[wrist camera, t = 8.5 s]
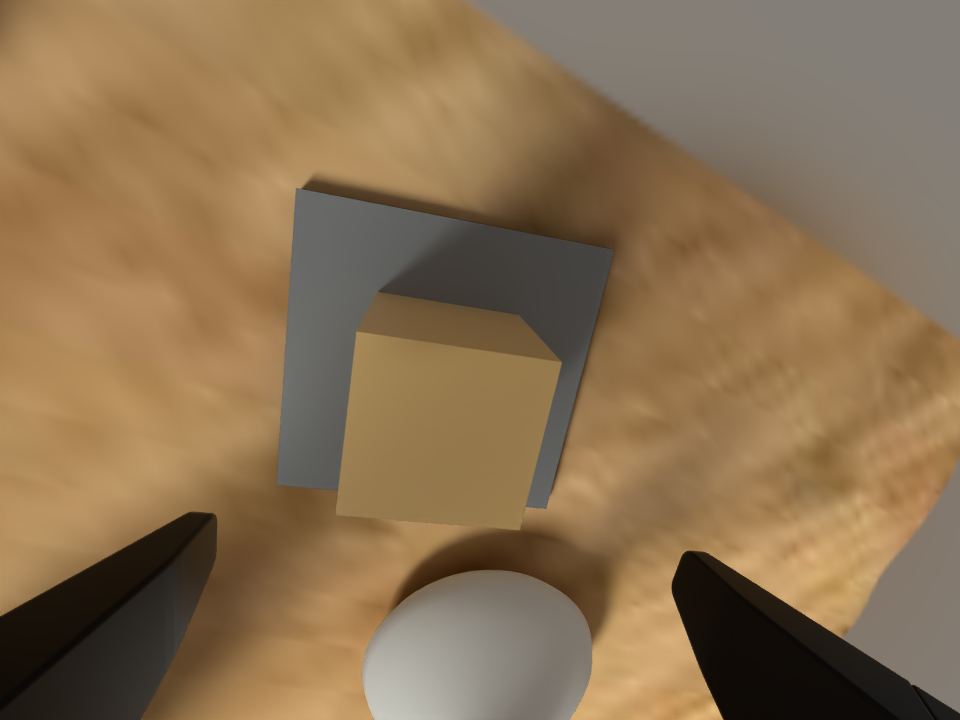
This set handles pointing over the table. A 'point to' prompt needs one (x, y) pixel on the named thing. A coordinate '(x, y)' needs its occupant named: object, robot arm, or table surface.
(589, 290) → the plate
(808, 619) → the robot arm
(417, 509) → the tan wooden cube
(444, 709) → the flower in vase
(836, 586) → the table surface
